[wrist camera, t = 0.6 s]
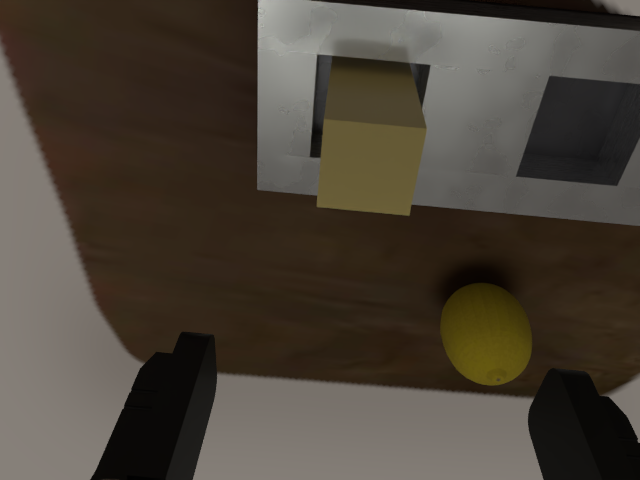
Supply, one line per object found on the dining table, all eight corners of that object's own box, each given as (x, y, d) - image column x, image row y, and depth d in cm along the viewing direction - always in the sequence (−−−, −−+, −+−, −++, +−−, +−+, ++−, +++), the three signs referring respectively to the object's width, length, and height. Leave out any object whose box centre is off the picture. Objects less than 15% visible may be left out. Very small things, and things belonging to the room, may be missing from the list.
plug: (332, 52, 27) (323, 119, 20) (408, 59, 27) (427, 128, 20) (325, 136, 30) (315, 222, 23) (394, 143, 30) (406, 230, 23)
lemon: (523, 304, 37) (557, 396, 31) (448, 327, 39) (467, 418, 33) (500, 248, 35) (534, 336, 28) (422, 275, 36) (436, 363, 30)
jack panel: (268, -18, 26) (258, -5, 23) (707, 22, 26) (750, 41, 23) (266, 161, 32) (257, 189, 29) (624, 194, 32) (650, 226, 29)
